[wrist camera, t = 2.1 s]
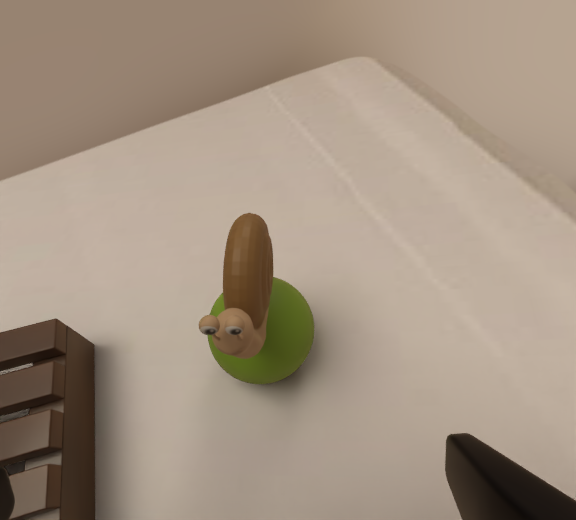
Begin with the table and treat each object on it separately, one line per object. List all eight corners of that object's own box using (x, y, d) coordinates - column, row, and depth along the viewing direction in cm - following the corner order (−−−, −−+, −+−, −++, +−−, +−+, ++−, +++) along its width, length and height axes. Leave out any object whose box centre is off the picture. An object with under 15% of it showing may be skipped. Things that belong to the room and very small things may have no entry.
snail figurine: (211, 413, 20) (112, 331, 9) (224, 303, 23) (161, 153, 13) (314, 415, 19) (327, 332, 9) (311, 303, 23) (319, 151, 13)
